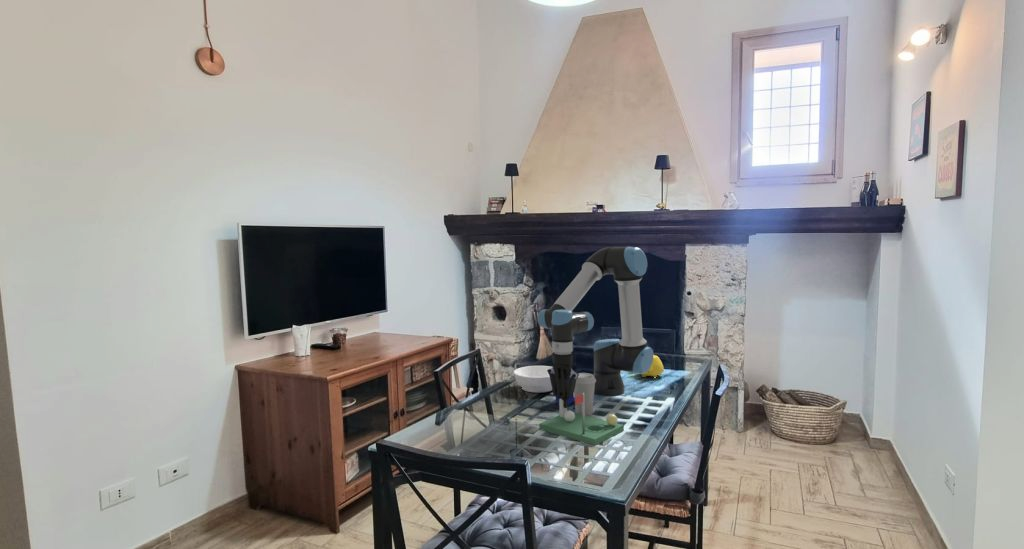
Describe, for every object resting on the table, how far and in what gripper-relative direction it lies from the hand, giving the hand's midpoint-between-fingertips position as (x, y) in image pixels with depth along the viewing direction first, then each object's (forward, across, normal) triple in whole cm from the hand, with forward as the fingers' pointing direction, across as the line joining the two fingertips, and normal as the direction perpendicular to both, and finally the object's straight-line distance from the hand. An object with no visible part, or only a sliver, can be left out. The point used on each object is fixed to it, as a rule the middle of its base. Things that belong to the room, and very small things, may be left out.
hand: (563, 415), depth 200 cm
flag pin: (+2, +14, -9) cm, 17 cm away
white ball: (0, +3, 0) cm, 3 cm away
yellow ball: (0, +17, +6) cm, 18 cm away
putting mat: (+4, +8, 0) cm, 9 cm away
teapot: (+4, -12, +83) cm, 84 cm away
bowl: (+4, -38, +31) cm, 49 cm away
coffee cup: (+4, -2, +16) cm, 17 cm away
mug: (+4, -14, +22) cm, 26 cm away
